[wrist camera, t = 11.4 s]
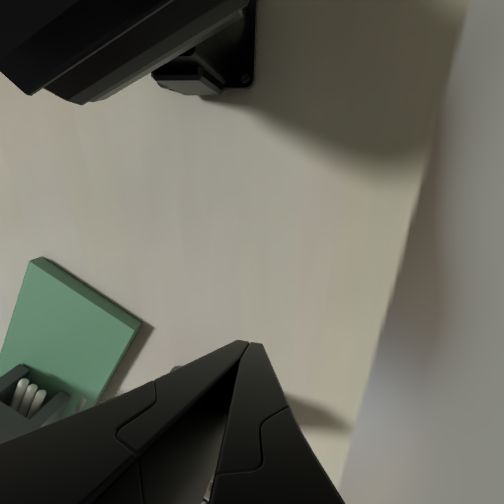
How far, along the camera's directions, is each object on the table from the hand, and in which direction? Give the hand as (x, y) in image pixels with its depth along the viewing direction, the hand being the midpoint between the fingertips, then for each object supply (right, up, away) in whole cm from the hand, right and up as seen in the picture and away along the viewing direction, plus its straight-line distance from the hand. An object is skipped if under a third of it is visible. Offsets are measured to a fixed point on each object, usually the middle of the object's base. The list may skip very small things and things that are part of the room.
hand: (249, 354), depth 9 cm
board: (-20, -8, +21) cm, 29 cm away
